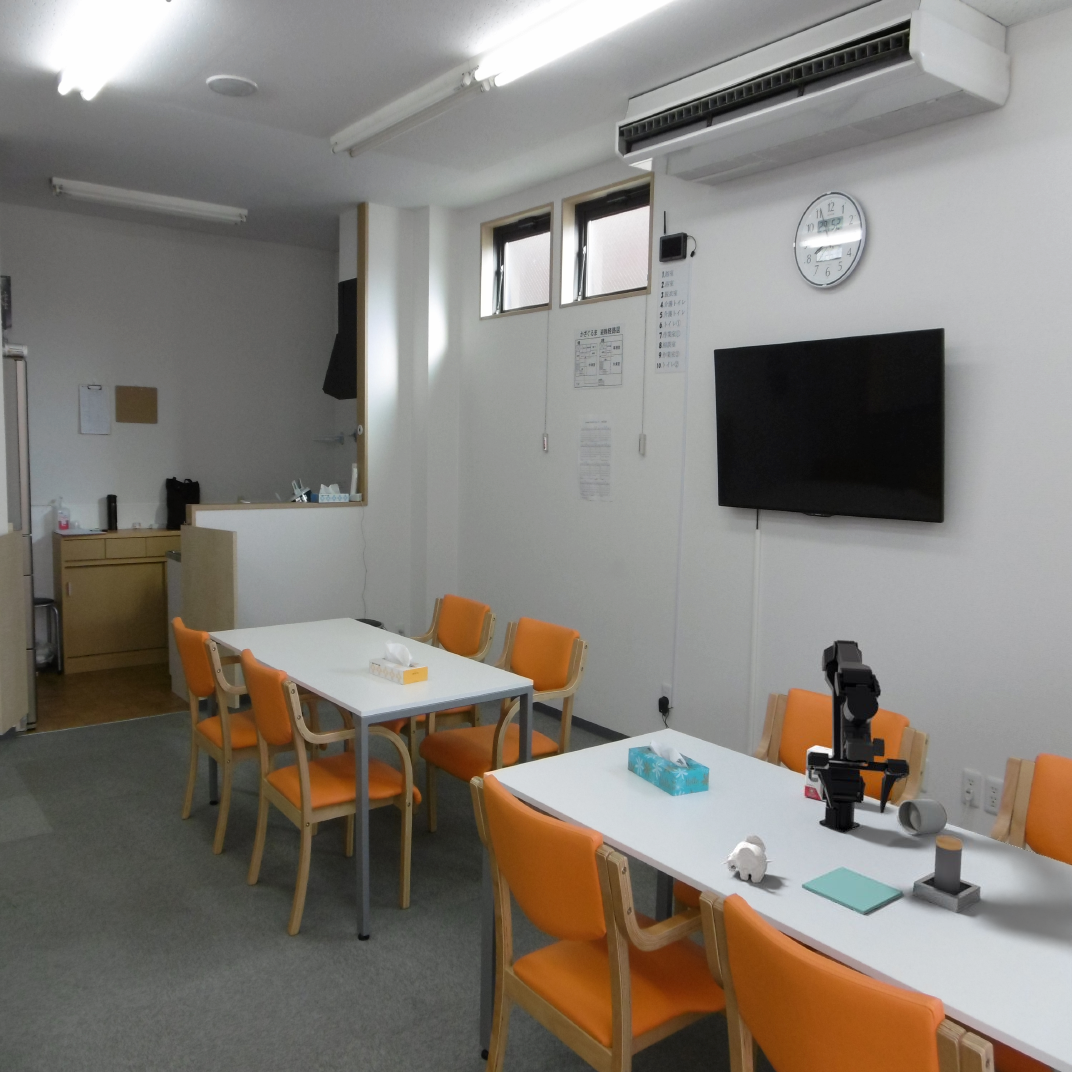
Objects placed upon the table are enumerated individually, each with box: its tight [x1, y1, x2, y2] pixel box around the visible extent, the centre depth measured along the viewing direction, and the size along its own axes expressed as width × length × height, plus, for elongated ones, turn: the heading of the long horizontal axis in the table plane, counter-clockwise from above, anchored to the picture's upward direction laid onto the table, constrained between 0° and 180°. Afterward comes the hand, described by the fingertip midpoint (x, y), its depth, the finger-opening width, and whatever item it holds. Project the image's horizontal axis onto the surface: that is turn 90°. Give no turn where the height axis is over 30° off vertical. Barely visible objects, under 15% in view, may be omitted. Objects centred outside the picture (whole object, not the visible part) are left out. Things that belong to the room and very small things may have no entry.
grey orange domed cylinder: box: [934, 835, 963, 896], centre depth 168 cm, size 4×4×11 cm
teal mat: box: [801, 866, 904, 915], centre depth 171 cm, size 13×13×1 cm
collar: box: [912, 871, 981, 914], centre depth 169 cm, size 8×8×2 cm
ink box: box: [803, 745, 832, 802], centre depth 219 cm, size 9×5×12 cm, turn 50°
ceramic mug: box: [896, 798, 948, 836], centre depth 201 cm, size 10×8×7 cm
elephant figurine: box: [721, 834, 773, 884], centre depth 176 cm, size 8×10×7 cm
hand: (856, 810), depth 175 cm, fingers open, 9 cm apart
